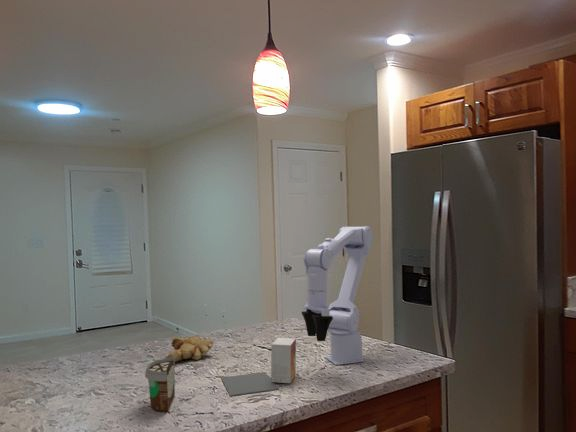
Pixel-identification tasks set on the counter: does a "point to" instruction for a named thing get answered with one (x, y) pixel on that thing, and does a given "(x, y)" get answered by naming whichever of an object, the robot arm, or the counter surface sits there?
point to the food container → (161, 384)
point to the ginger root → (189, 348)
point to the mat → (248, 384)
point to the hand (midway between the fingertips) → (316, 338)
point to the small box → (283, 360)
